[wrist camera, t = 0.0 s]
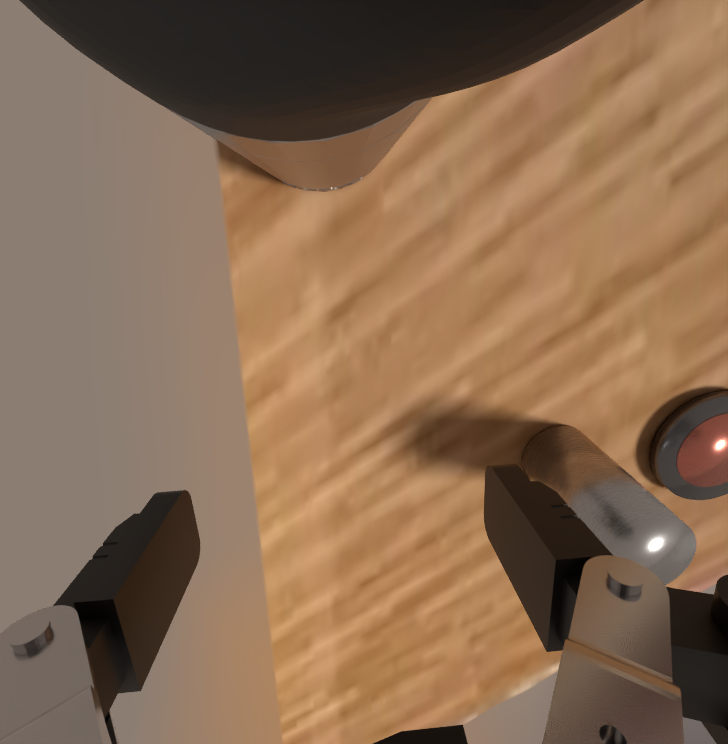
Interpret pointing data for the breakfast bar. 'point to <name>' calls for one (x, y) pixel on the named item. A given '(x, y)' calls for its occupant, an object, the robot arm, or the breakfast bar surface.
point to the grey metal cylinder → (610, 501)
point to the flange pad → (694, 448)
